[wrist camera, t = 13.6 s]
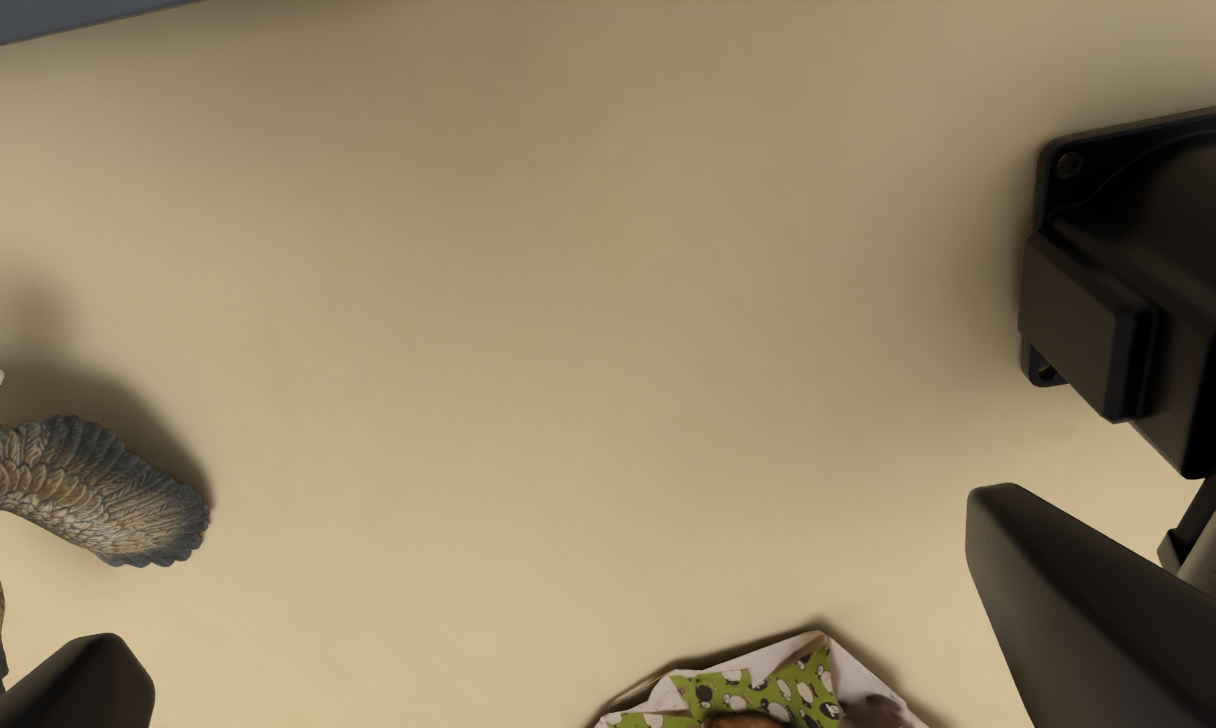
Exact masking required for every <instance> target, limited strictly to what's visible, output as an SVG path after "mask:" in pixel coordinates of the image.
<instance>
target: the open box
mask: <svg viewBox="0 0 1216 728" xmlns="http://www.w3.org/2000/svg"><path fill="white" fill-rule="evenodd" d="M202 1H207V0H0V46H4V45H9V44H13V43H18V42H22V41H27V40H31V39H36V38H40V37H45V36H49V35H54V34H58V33H63V32H67V31H72V30H76V29H81V28H85V27H90V26H94V25H99V24H103V23H108V22H112V21H117V20H121V19H126V18H130V17H135V16H139V15H144V14H148V13H153V12H157V11H162V10H166V9H171V8H175V7H180V6H184V5H189V4H193V3H198V2H202Z"/></svg>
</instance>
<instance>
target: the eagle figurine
mask: <svg viewBox="0 0 1216 728" xmlns="http://www.w3.org/2000/svg"><path fill="white" fill-rule="evenodd" d="M4 377H5V373H4V372H3V371H2V370H1V369H0V386H1V384H2V381H3V379H4ZM124 448H125V443H124V441H122V440H120V439H118V438H117V437H116V434H115V432H114V431H113V430H111V429H106V428H104V427H102V426H101V425H99V424H97V423H93V422H85V421H83V420H82V419H80V418H79V417H77V416H75V415H71V414H69V415H67V416H64V417H63V416H60V415H50V416H49V417H48V418H46V419H45V420H44V421H42V422H34V421H26V422H23V423H21V424H20V425H19V426H18V427H17V428H11V427H9V426H7V425H4V424H0V510H3V511H8V512H11V513H13V514H15V515H17V516H20V517H23V518H25V519H27V520H29V521H31V522H33V523H35V524H37V525H39V526H41V527H42V528H44V529H46V530H48V531H50V532H51V533H53V534H55V535H57V536H59V537H60V538H62V539H64V540H66V541H68V542H70V543H72V544H75V545H78V546H80V547H83V548H86V549H88V550H90V551H91V552H93V553H94V554H95V555H96V556H97V557H99V558H100V559H101V560H102V561H104V562H105V563H107V564H109V565H111V566H114V567H119V566H122V565H124V564H128V565H132V566H135V567H139V568H143V567H145V566H147V565H149V564H150V563H151V562H152V563H154V564H156V565H158V566H162V567H169V566H171V565H172V564H173V562H174V560H177V561H186V560H187V559H188V558H189V557H190V549H192V550H195V549H198V548H199V547H200V546H201V539H200V536H199V535H198V534H197V533H196V532H202V531H205V530H206V529H207V528H208V524H206V523H205V521H204V519H207V518H208V517H209V515H210V511H209V510H208V508H207V504H206V503H205V502H204V501H201V499H202V495H201V494H200V493H198V492H197V491H193V490H192V486H191V485H190V484H188V483H186V482H181V483H177V482H176V481H175V479H174V478H173V477H171V476H169V475H168V473H167V472H166V471H163V470H151V465H150V464H149V463H148V462H146V461H142V460H141V459H140V458H139V456H138V455H136V453H132V452H126V451H125V450H124ZM4 612H5V599H4V594H3V589H2V586H1V582H0V696H2V695H3V694H4V693H5V692H6V691H5V688H4V686H3V682H2V679H3V678H4V677H5V676H6V675H7V674H8V672H9V669H8V666H7V662H6V656H5V652H4V649H3V644H2V639H1V630H2V623H3V618H4Z"/></svg>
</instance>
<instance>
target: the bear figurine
mask: <svg viewBox="0 0 1216 728" xmlns="http://www.w3.org/2000/svg"><path fill="white" fill-rule="evenodd" d="M668 673H669V674H668ZM668 673H666V674H667V675H666V674H664V675H662V676H661V677H662V678H661V677H659V678H661V680H660V681H659V682H658V684H657V685H656V686H655V687H654V689H653V691H652V693H651V695H650V697H649V699H648V701H646V702H644V703H642V704H640V705H638V706H636V707H634V708H632V709H630V710H625V711H620V712H615V713H613V714H612V713H609V714H606V715H605V716H603V717H600V721H599V722H598V723H597V725H596V726H595V727H594V728H929V727H928V726H927V725H926V724H925V723H924V722H923V721H921V720H920V719H919V718H918V717H917V716H915V715H914V714H913V713H912V712H911V711H910V710H909V709H908V708H907V706H906V704H907V703H906V702H905V701H904V700H903V699H902V698H901V697H899V696H898V695H897V694H896V693H895V692H894V691H892V690H891V689H890V688H889V687H888V686H887V685H885V684H884V683H883V682H882V681H881V680H880V679H879V678H877V677H876V676H875V675H874V674H873V673H872V672H870V671H869V670H868V669H867V668H866V667H865V666H863V665H862V664H861V663H860V662H859V661H858V660H856V659H855V658H854V657H853V656H852V655H851V654H850V653H848V652H847V651H846V650H845V649H844V648H843V647H841V646H840V645H839V644H838V643H837V642H836V641H834V640H833V639H832V638H831V637H829V636H827V635H826V634H824V633H823V632H821V631H819V630H818V631H811V632H804V633H803V634H800V635H798V636H795V637H792V638H789V639H787V640H784V641H781V642H779V643H776V644H773V645H770V646H768V647H765V648H762V649H759V650H757V651H754V652H751V653H749V654H746V655H743V656H740V657H738V658H735V659H732V660H729V661H727V662H724V663H721V664H719V665H716V666H713V667H710V668H708V669H705V670H683V669H675V670H674V671H670V672H668ZM665 675H666V676H665ZM663 676H664V677H663ZM659 678H657V679H656V680H658V679H659ZM656 680H654V681H656ZM654 681H652V682H654ZM652 682H651V683H652ZM649 684H650V683H649ZM649 684H648V685H649ZM646 686H647V685H646ZM644 687H645V686H644ZM641 689H642V688H641ZM639 690H640V689H639ZM634 693H635V692H634ZM632 694H633V693H632ZM629 696H630V695H629ZM627 697H628V696H627ZM624 699H625V698H624ZM622 700H623V699H622ZM620 701H621V700H620ZM620 701H619V702H620ZM617 703H618V702H617ZM615 704H616V703H615ZM615 704H613V705H615ZM613 705H612V706H613ZM612 706H610V707H612ZM610 707H608V708H610Z"/></svg>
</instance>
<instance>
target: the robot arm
mask: <svg viewBox="0 0 1216 728" xmlns="http://www.w3.org/2000/svg"><path fill="white" fill-rule="evenodd" d="M1070 152H1071V154H1072V157H1071V160H1070V162H1069V163H1068V164H1067V165H1066V166H1065V167H1063V168H1061V169H1058V167H1057V165H1058V163H1059V160H1060V159H1061V158H1062V157H1063V156H1064V155H1065V154H1068V153H1070ZM1018 330H1019V332H1020V333H1021V334H1022V335H1023V336H1024V340H1023V353H1022V366H1021V367H1022V372H1023V374H1024V375H1025V376H1026V377H1027V378H1028V379H1029V381H1030V382H1031V383H1032V384H1033V385H1035V386H1037V387H1051V386H1057V385H1063V384H1070V385H1071V386H1072V387H1073V388H1074V389H1075V390H1076V391H1077V392H1078V393H1079V394H1080V395H1081V396H1082V397H1083V398H1084V399H1085V400H1086V402H1087V403H1088V404H1089V405H1090V406H1091V407H1092V408H1093V409H1094V410H1095V411H1096V412H1097V413H1098V414H1099V415H1100V416H1101V417H1103V418H1104V419H1106V420H1107V421H1108V422H1110V423H1112V424H1118V423H1124V422H1128V423H1129V424H1130V425H1131V426H1132V427H1133V428H1134V429H1135V430H1136V431H1137V432H1138V433H1139V434H1140V435H1141V436H1142V437H1143V438H1144V439H1145V440H1146V441H1147V442H1148V443H1149V444H1150V445H1151V446H1152V447H1153V448H1154V449H1155V450H1156V451H1157V452H1158V453H1159V454H1160V455H1161V456H1162V457H1163V458H1164V459H1165V460H1166V461H1167V462H1168V463H1169V464H1170V465H1171V466H1172V467H1173V468H1174V469H1175V470H1176V471H1177V472H1178V473H1179V474H1180V475H1181V476H1183V477H1184V478H1185V479H1190V480H1196V479H1202V478H1205V480H1204V482H1203V483H1202V485H1201V487H1200V489H1199V490H1198V492H1197V494H1196V495H1195V497H1194V499H1193V501H1192V502H1191V504H1190V506H1189V507H1188V509H1187V511H1186V513H1185V514H1184V516H1183V518H1182V519H1181V521H1180V523H1179V525H1178V526H1177V528H1174V529H1170V530H1168V532H1167V533H1166V535H1165V537H1164V539H1163V540H1162V542H1161V544H1160V545H1159V547H1158V549H1157V554H1158V557H1159V560H1160V562H1161V565H1162V568H1161V567H1159V566H1157V565H1156V564H1154V563H1152V562H1151V561H1149V560H1147V559H1145V558H1144V557H1142V556H1140V555H1138V554H1137V553H1135V552H1133V551H1132V550H1130V549H1128V548H1126V547H1125V546H1123V545H1121V544H1119V543H1118V542H1116V541H1114V540H1113V539H1111V538H1109V537H1107V536H1106V535H1104V534H1102V533H1100V532H1099V531H1097V530H1095V529H1094V528H1092V527H1090V526H1088V525H1087V524H1085V523H1083V522H1081V521H1080V520H1078V519H1076V518H1075V517H1073V516H1071V515H1069V514H1068V513H1066V512H1064V511H1063V510H1061V509H1059V508H1057V507H1056V506H1054V505H1052V504H1050V503H1049V502H1047V501H1045V500H1044V499H1042V498H1040V497H1038V496H1037V495H1035V494H1033V493H1031V492H1030V491H1028V490H1026V489H1025V488H1023V487H1021V486H1019V485H1017V484H1014V483H1001V484H995V485H989V486H983V487H977V488H975V489H973V490H972V491H971V492H970V493H969V496H968V499H967V516H966V540H965V552H966V559H967V564H968V567H969V570H970V573H971V576H972V578H973V581H974V583H975V586H976V588H977V590H978V593H979V595H980V598H981V600H982V603H983V605H984V608H985V610H986V613H987V615H988V618H989V620H990V623H991V625H992V628H993V630H994V633H995V635H996V637H997V640H998V642H999V645H1000V647H1001V650H1002V652H1003V655H1004V657H1005V660H1006V662H1007V665H1008V667H1009V670H1010V672H1011V675H1012V677H1013V680H1014V682H1015V685H1016V687H1017V689H1018V692H1019V694H1020V696H1021V699H1022V701H1023V703H1024V706H1025V708H1026V710H1027V713H1028V715H1029V717H1030V719H1031V721H1032V723H1033V725H1034V727H1035V728H1216V107H1211V108H1206V109H1201V110H1196V111H1191V112H1186V113H1181V114H1176V115H1170V116H1165V117H1160V118H1155V119H1150V120H1145V121H1140V122H1134V123H1129V124H1124V125H1119V126H1114V127H1109V128H1104V129H1098V130H1093V131H1088V132H1083V133H1078V134H1073V135H1068V136H1062V137H1060V138H1057V139H1054V140H1053V141H1051V142H1050V143H1049V144H1047V145H1046V146H1045V148H1044V149H1043V150H1042V152H1041V153H1040V156H1039V159H1038V164H1037V176H1036V189H1035V202H1034V214H1033V227H1032V232H1031V233H1030V234H1029V235H1028V237H1027V238H1026V240H1025V241H1024V247H1023V260H1022V274H1021V287H1020V301H1019V314H1018ZM1047 363H1050V366H1049V367H1048V368H1046V369H1045V370H1043V371H1039V370H1040V368H1041V367H1042V366H1043V365H1044V364H1047ZM154 703H155V688H154V684H153V681H152V679H151V677H150V676H149V674H148V673H147V672H146V670H145V669H144V667H143V666H142V665H141V663H140V662H139V661H138V659H137V658H136V657H135V655H134V654H133V653H132V651H131V650H130V648H129V647H128V646H127V644H126V643H125V642H124V640H123V639H122V638H121V637H119V636H118V635H116V634H114V633H102V634H96V635H90V636H84V637H79V638H76V639H73V640H71V641H69V642H68V643H67V644H65V645H64V646H63V647H61V648H60V649H59V650H58V651H56V652H55V653H54V654H53V655H51V656H50V657H49V658H48V659H46V660H45V661H44V662H43V663H41V664H40V665H39V666H38V667H36V668H35V669H34V670H33V671H31V672H30V673H29V674H28V675H26V676H25V677H24V678H23V679H21V680H20V681H19V682H18V683H17V684H15V685H14V686H13V687H12V688H10V689H9V690H8V691H7V692H5V693H4V694H3V695H2V696H0V728H149V724H150V720H151V716H152V712H153V708H154Z"/></svg>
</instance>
